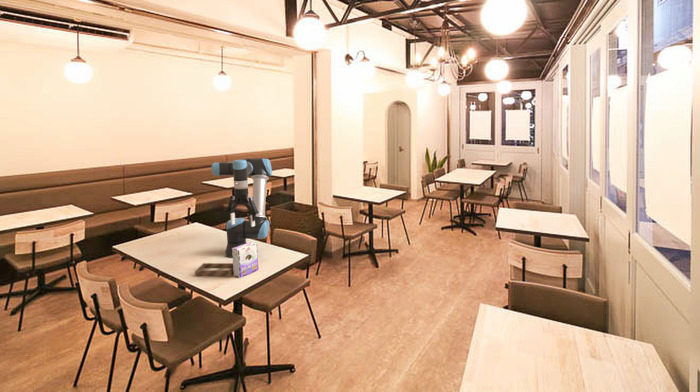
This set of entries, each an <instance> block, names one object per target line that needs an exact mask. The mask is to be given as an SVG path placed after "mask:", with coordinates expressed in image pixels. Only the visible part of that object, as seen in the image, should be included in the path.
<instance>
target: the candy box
mask: <svg viewBox="0 0 700 392" xmlns="http://www.w3.org/2000/svg"><path fill="white" fill-rule="evenodd" d="M232 257H233V258H232ZM232 257H231V258H232V263H233V273H234V274H233V276H234V277H237V278H239V279H240V278H243V277H245V276H247V275H250V274H252V273H255V272H257V271H259V256H258V244H257V243H256V242H252V241H249V242H246V244H243V245H240V246H237V247H235V248H232Z"/></svg>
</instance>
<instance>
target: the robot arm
mask: <svg viewBox="0 0 700 392" xmlns="http://www.w3.org/2000/svg"><path fill="white" fill-rule="evenodd" d="M211 173H212V174H213V176H221V177H222V176H233V188H234V189H233V194H234V195H231V196H230V198H229V202H228V204H227V207H226V212H227V213H228V214H229V220H228V221H227V222H226V224H225V226H226V228H225V229H226V247H225V252H224V253H225V257H228V258H231V259H233V257H232V248H235V247H237V246H240V245H243V244H246V243H247V239H248V240H249V239H253V240H254V239H258V240H260V239H266V238H267V237H268V234H269V231H270V221H269V220H268V217H267V215H266V198H267V183H268V182H267V181H268V180H269V179H270V177H271V176H272V175H273V169H272V163H271V161H270V159H269V158H262V157H261V158H243V159H234V160H232V161H227V162H226V161H225V162H222V161H221V162H219V161H218V162H213V163H212V165H211ZM248 177H251V179H252V196H250V197H249V180H248ZM239 205H241V206H245V208H246V209H247V210H248V212H249V213H250V216H249V217H248V220H246V219H245V217H236V214H235V211H236V209H237V207H238V206H239Z"/></svg>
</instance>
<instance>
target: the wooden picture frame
mask: <svg viewBox="0 0 700 392" xmlns="http://www.w3.org/2000/svg"><path fill="white" fill-rule="evenodd" d="M194 272H195V277H201V278H202V277H206V278H207V277H214V278H215V277H216V278H217V277H218V278H219V277H220V278H222V277H224V278H225V277H226V278H228V277H232V276H234V273H233V262H231V263H228V262H226V263H224V262H223V263H222V262H221V263H220V262H218V263H217V262H210V263H209V262H205V263H202V264H201V265H200V266H199V267H198V268H196V269H195V271H194Z"/></svg>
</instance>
